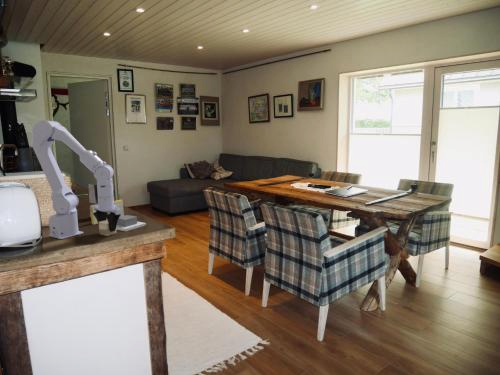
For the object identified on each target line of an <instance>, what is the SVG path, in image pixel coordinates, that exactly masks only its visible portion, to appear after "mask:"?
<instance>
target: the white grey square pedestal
mask: <svg viewBox="0 0 500 375" xmlns="http://www.w3.org/2000/svg"><path fill="white" fill-rule="evenodd" d="M145 225H146V226H147V223H146V222H141V221H138V216H137V215H136V216H135V215H128V214H126V215H124V216H122V217H119V219H118V222H117V225H116V230H117V231H121V232H129V231H131V230H135V229H138V228H143V227H146V226H145Z"/></svg>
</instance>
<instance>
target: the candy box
mask: <svg viewBox="0 0 500 375" xmlns="http://www.w3.org/2000/svg"><path fill="white" fill-rule="evenodd" d="M114 205H115V206H116V207H117V208H119V209H121V215H120V217H122V216H125V212H124V209H125V208H124V200H123V199H117V200H114ZM93 206H94V205H93ZM93 206H90V205H89V211H90V210H91V217H90V218H91V224H92V225H96V224H97V225H99V224H98V221H97V219H96V218H95V216H94V215H93V213H94V212H96V210H95V211H94V210H93ZM108 214H110V213H108ZM106 220H107V218H106Z"/></svg>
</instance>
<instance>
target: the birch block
mask: <svg viewBox="0 0 500 375" xmlns="http://www.w3.org/2000/svg"><path fill="white" fill-rule="evenodd" d="M98 229H99V230H98V231H99V235H102V236H106V237H108V236H111V235H114V234H118V233H117V231H118V230H115V231H113V232H110V230H109V224H108V220H105V221H101V222H99V224H98Z"/></svg>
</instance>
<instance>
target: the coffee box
mask: <svg viewBox="0 0 500 375" xmlns="http://www.w3.org/2000/svg"><path fill="white" fill-rule="evenodd" d="M88 197H89V198H88V200H89V207H90V206H93V205H98V191H97V182H93V183H88ZM89 215H90V217H89V218H91V210H90V209H89Z"/></svg>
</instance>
